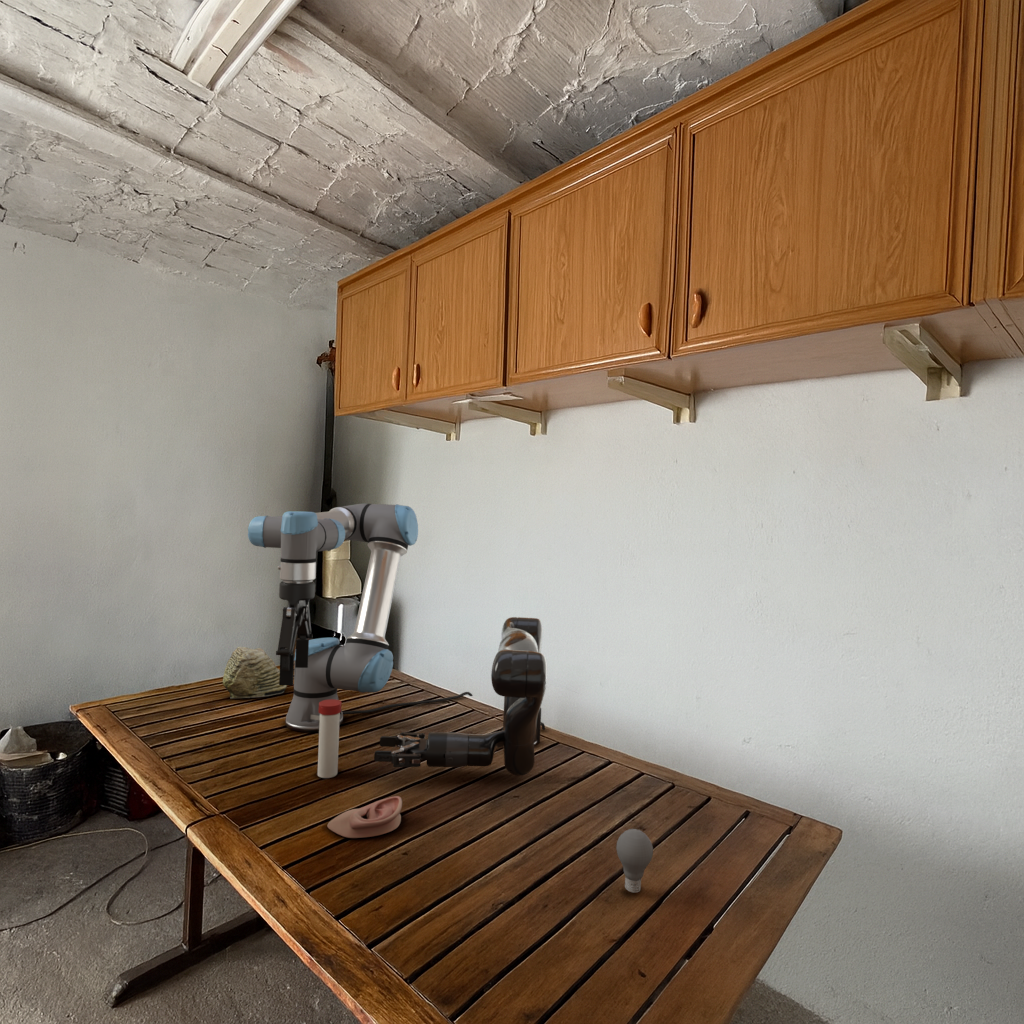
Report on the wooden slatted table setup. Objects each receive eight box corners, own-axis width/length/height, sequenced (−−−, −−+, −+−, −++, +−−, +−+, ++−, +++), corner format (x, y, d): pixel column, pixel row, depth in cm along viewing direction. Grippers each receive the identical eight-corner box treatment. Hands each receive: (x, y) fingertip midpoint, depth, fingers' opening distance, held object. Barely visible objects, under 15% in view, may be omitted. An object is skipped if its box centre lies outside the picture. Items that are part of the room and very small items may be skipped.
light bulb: (610, 879, 108) (613, 822, 108) (644, 879, 109) (647, 822, 109) (619, 902, 102) (622, 840, 102) (655, 901, 103) (658, 840, 103)
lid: (321, 716, 141) (321, 707, 141) (316, 709, 146) (316, 700, 146) (343, 713, 144) (343, 704, 143) (338, 706, 148) (338, 698, 148)
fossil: (218, 695, 195) (220, 647, 195) (278, 685, 208) (279, 640, 207) (228, 703, 189) (230, 653, 188) (289, 692, 201) (290, 645, 201)
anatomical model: (320, 812, 119) (347, 786, 130) (319, 833, 119) (347, 805, 130) (386, 822, 116) (408, 795, 127) (385, 844, 116) (408, 814, 128)
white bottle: (319, 779, 142) (322, 708, 142) (315, 771, 146) (318, 702, 145) (339, 776, 144) (342, 706, 144) (335, 768, 148) (337, 700, 147)
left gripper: (294, 573, 153) (291, 660, 153) (263, 588, 128) (259, 692, 128) (326, 574, 153) (323, 661, 154) (301, 589, 129) (297, 693, 129)
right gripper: (449, 722, 153) (382, 721, 152) (447, 745, 139) (373, 744, 138) (448, 753, 154) (380, 752, 152) (446, 779, 139) (371, 778, 138)
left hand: (294, 675), depth 141 cm, fingers open, 13 cm apart
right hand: (377, 748), depth 145 cm, fingers open, 8 cm apart
